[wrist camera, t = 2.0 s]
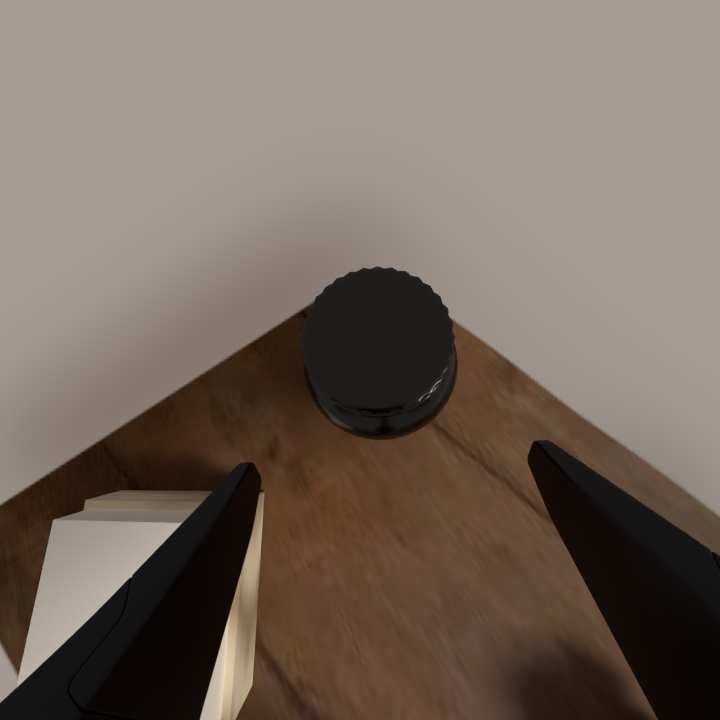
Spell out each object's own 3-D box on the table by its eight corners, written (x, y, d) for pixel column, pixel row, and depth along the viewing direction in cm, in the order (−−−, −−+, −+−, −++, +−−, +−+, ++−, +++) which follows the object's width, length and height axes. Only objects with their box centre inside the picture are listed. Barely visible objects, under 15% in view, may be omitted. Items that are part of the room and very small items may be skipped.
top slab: (221, 718, 14) (194, 767, 12) (53, 702, 15) (3, 745, 13) (237, 511, 16) (218, 523, 14) (90, 508, 17) (53, 519, 15)
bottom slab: (252, 685, 16) (229, 731, 14) (91, 672, 17) (42, 713, 15) (264, 491, 19) (246, 502, 16) (122, 490, 20) (85, 499, 17)
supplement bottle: (320, 366, 20) (234, 296, 9) (397, 324, 21) (413, 199, 9) (363, 449, 19) (327, 497, 7) (446, 401, 19) (544, 374, 7)
